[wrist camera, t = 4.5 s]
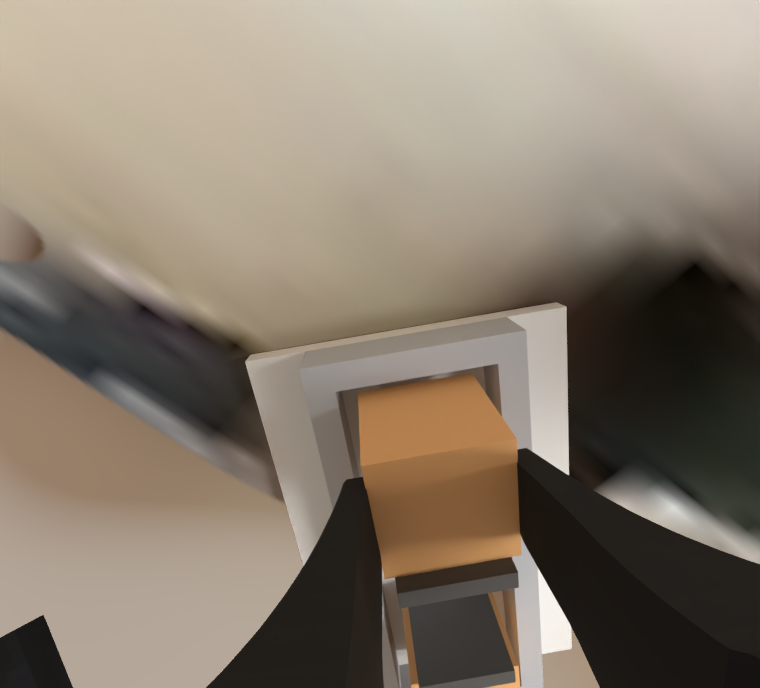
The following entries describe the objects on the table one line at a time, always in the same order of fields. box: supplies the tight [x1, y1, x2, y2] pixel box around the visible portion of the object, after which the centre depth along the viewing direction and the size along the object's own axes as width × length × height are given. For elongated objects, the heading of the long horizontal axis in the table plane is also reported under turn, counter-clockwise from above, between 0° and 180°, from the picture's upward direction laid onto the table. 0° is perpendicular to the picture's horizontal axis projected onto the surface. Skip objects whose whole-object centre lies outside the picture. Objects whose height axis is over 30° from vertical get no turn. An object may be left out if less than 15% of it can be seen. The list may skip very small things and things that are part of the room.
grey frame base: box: [245, 302, 571, 688], centre depth 16 cm, size 12×18×5 cm, turn 9°
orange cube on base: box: [358, 373, 522, 609], centre depth 13 cm, size 4×5×4 cm
